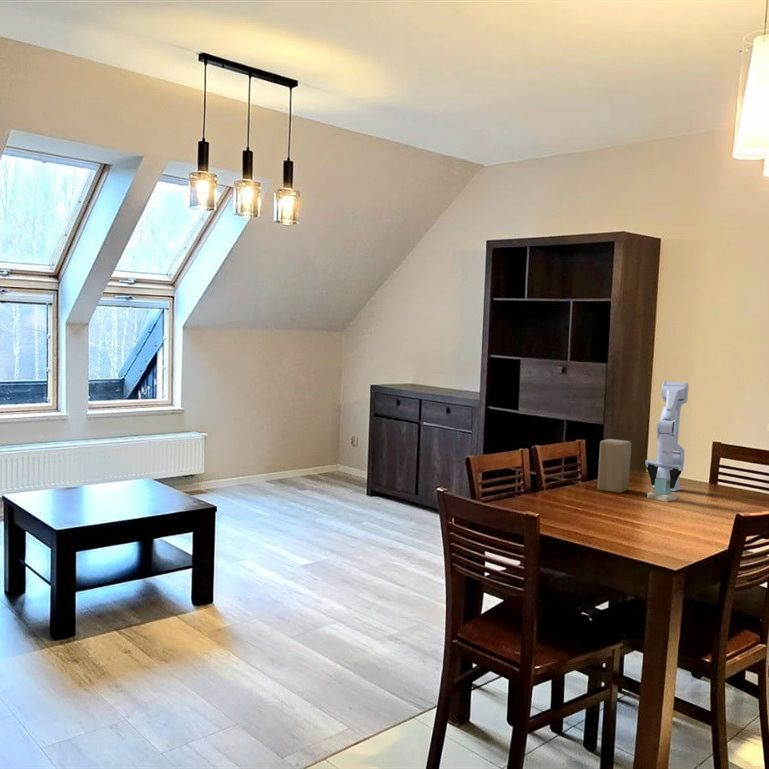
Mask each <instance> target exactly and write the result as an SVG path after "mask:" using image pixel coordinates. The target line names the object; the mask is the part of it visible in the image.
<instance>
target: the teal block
mask: <svg viewBox="0 0 769 769" xmlns="http://www.w3.org/2000/svg"><path fill="white" fill-rule="evenodd" d="M653 489H654V490H653V491H654V493H657V494H662V495H668V494H671V493H672V491H671V488H670V479H665V478H657V479H655V488H653Z"/></svg>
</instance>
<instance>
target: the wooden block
mask: <svg viewBox="0 0 769 769" xmlns="http://www.w3.org/2000/svg"><path fill="white" fill-rule="evenodd" d="M631 455H632V442H631V441H630V440H623V439H613V438H608V439H604V440H600V442H599V454H598V474H597V490H598V491H602V490H603V492H609V491H610V492H611V493H615V494H616V493H617V494H622V493H624V492H626V491H629V487H630V474H631V458H632V457H631ZM610 492H609V493H610Z"/></svg>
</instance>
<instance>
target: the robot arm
mask: <svg viewBox="0 0 769 769" xmlns="http://www.w3.org/2000/svg"><path fill="white" fill-rule="evenodd" d="M661 396H662V398H661V399H662V400H663V402H664V403H665V406H663V408H662V409H661V414H660V418H659V420H658V421H657V423H656V438H657V444H656V445H657V446H656V460H651V459H645V466H646V468H645V469H646V471H647V473H648V476H649V479H650V483H651V486H652V488H653V489H654V488H655V479H657V478H665V479H670V488H671V492H676V491H681V490H683V489H684V488H683V487H680V475H681V473H682V472H683V471H684V466H685V450H684V449H685V448H684V447H682V445H680V444H679V436H680V435H679V433H680V432H679V431H680V419H681V408H682V406H683V404H686V403H688V399H689V384H688V382H677V381H676V382H672V381H663V382H662V384H661Z"/></svg>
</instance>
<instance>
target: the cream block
mask: <svg viewBox="0 0 769 769" xmlns="http://www.w3.org/2000/svg"><path fill="white" fill-rule="evenodd" d="M646 498H647V499H652V500H657V501H662V502H671V501H675V500H676V501H677V499H678V494H677V493H674V492H671V494H668V495H662V494H657V493H654V490H653V491H650V492H647V497H646Z"/></svg>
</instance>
